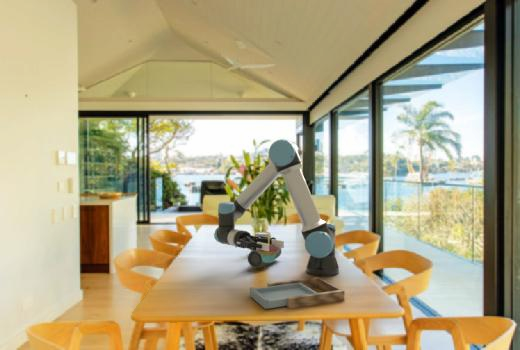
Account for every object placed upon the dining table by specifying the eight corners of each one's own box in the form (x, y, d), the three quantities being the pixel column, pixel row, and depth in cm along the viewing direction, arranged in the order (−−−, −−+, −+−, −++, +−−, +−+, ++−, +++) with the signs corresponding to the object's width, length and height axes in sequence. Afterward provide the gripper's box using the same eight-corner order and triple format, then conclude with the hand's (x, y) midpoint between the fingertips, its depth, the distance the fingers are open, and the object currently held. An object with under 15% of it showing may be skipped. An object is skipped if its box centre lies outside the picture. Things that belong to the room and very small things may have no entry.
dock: (318, 285, 162) (318, 277, 162) (345, 300, 144) (345, 290, 144) (267, 292, 153) (267, 283, 153) (289, 308, 135) (289, 298, 135)
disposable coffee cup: (260, 251, 225) (260, 230, 225) (274, 253, 220) (274, 232, 220) (251, 254, 218) (251, 233, 217) (265, 256, 212) (265, 235, 212)
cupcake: (281, 263, 157) (280, 233, 157) (261, 264, 154) (260, 234, 154) (274, 258, 165) (274, 230, 165) (255, 259, 163) (254, 231, 162)
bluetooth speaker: (266, 259, 208) (266, 240, 207) (282, 260, 204) (282, 242, 203) (246, 269, 187) (246, 248, 187) (263, 271, 183) (263, 250, 183)
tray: (300, 288, 156) (300, 281, 156) (319, 300, 142) (319, 292, 142) (249, 295, 148) (249, 287, 148) (265, 308, 134) (265, 300, 134)
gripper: (257, 243, 180) (293, 251, 163) (221, 250, 166) (257, 259, 149) (257, 227, 180) (293, 233, 163) (221, 233, 166) (257, 240, 149)
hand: (275, 246), depth 156 cm, fingers closed on cupcake, 8 cm apart
